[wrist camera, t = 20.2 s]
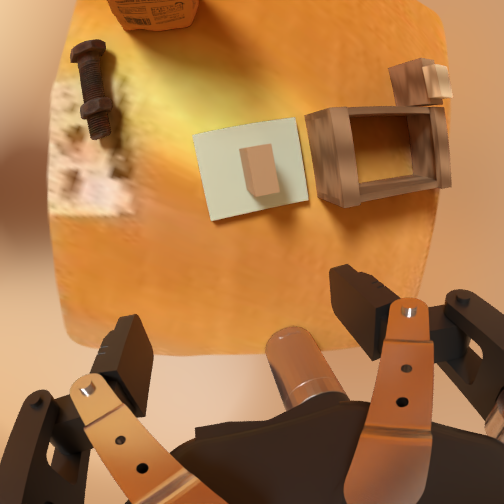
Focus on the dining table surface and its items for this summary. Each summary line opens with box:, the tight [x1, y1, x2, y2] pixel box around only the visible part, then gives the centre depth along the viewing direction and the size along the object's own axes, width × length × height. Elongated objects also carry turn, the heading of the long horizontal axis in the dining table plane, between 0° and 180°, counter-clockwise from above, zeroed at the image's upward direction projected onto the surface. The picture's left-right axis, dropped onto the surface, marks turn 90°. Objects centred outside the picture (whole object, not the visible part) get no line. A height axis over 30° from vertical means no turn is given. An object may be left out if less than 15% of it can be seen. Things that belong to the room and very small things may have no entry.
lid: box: [192, 117, 309, 221], centre depth 38 cm, size 13×15×9 cm
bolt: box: [70, 39, 112, 140], centre depth 32 cm, size 6×5×15 cm
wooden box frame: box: [305, 58, 451, 208], centre depth 38 cm, size 21×21×9 cm
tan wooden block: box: [422, 64, 453, 99], centre depth 31 cm, size 5×3×3 cm, turn 11°
